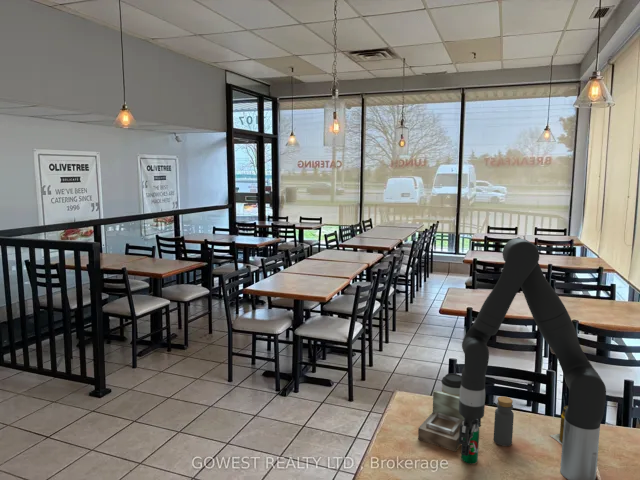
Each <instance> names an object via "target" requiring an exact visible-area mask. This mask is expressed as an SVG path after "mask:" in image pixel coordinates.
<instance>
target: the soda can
mask: <svg viewBox="0 0 640 480" xmlns="http://www.w3.org/2000/svg"><path fill="white" fill-rule="evenodd" d="M469 434H471V432H469ZM464 440H466V439H465V438H464ZM479 442H480V427H478V425H476V429H475V430H474V434H473V438H471V439H470V444H469V455H468V456H465V455H462V454H461V453H460V458H461V460H462V461H463V462H464V463H465V464H467V465H474V464H476V463H477V462H478V460H479V446H480V443H479Z"/></svg>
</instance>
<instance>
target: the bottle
mask: <svg viewBox="0 0 640 480" xmlns="http://www.w3.org/2000/svg"><path fill="white" fill-rule="evenodd" d="M513 402H514V400H513V399H512V398H511V397H508V396H503V395H502V396H498V397H497V402H496V408H495V411H494V423H493V425H494V426H493V442H494V443H495V444H497V445H499V446H503V447H508V446H511V445H512V444H513V432H514V417H515V415H514V412H513V409H514V405H513Z"/></svg>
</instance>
